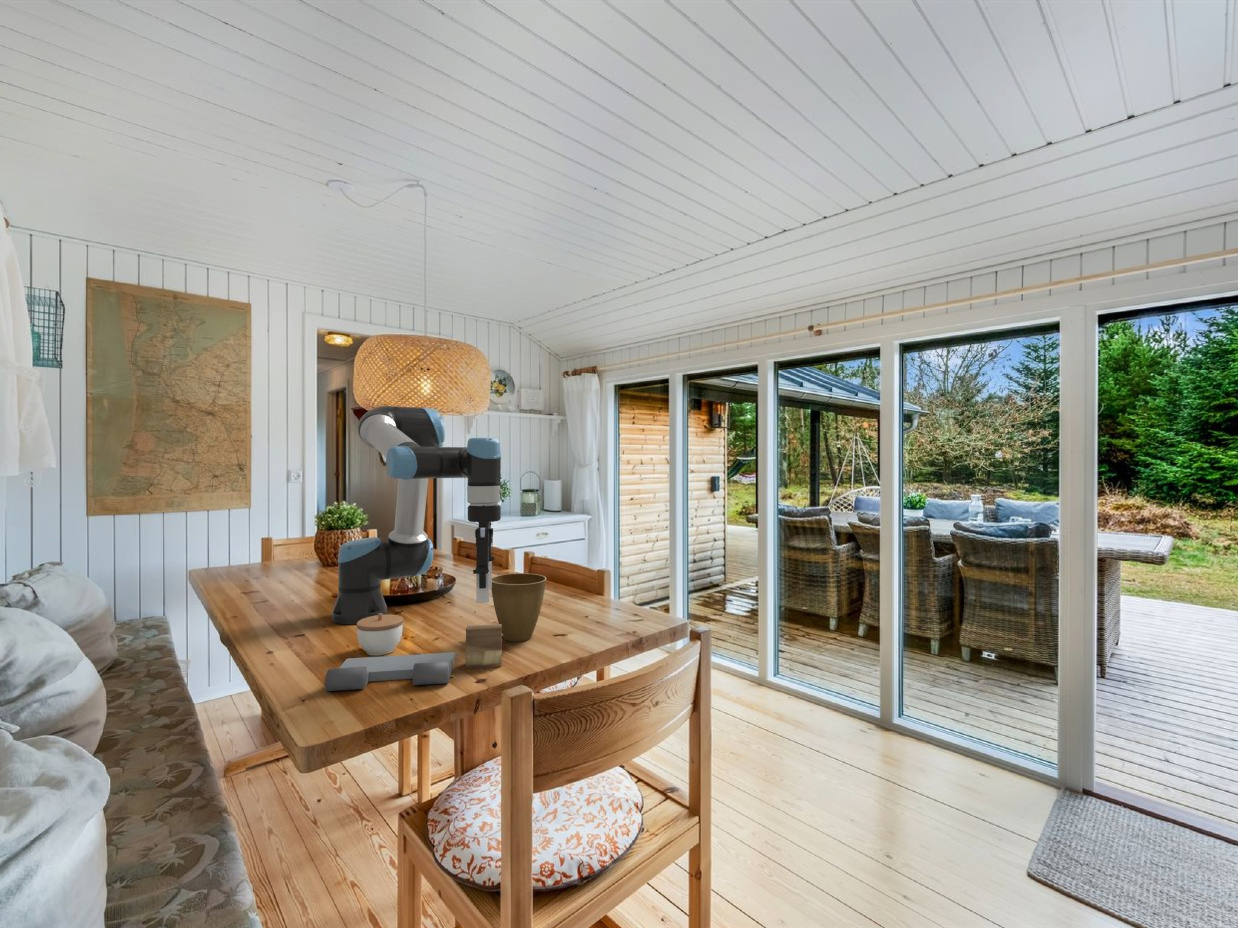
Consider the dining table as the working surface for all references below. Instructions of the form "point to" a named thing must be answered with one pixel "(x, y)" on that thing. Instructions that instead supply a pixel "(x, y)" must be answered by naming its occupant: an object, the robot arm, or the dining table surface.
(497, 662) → the taupe rectangular chunk
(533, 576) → the plant pot
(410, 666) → the grey hinge leaf
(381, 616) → the lidded jar
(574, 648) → the dining table surface
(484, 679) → the dining table surface
